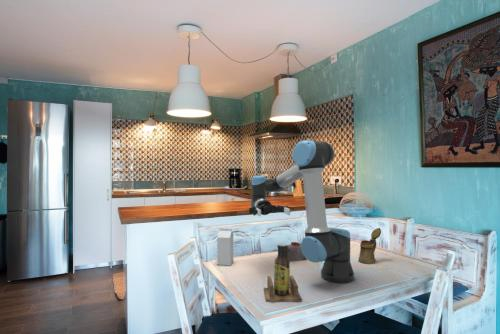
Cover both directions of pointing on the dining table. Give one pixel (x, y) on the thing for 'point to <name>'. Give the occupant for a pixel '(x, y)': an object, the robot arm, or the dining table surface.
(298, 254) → the food item
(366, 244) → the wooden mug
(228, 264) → the milk carton
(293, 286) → the walnut slotted rack
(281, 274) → the sauce bottle
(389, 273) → the dining table surface
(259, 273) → the dining table surface
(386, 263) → the dining table surface
